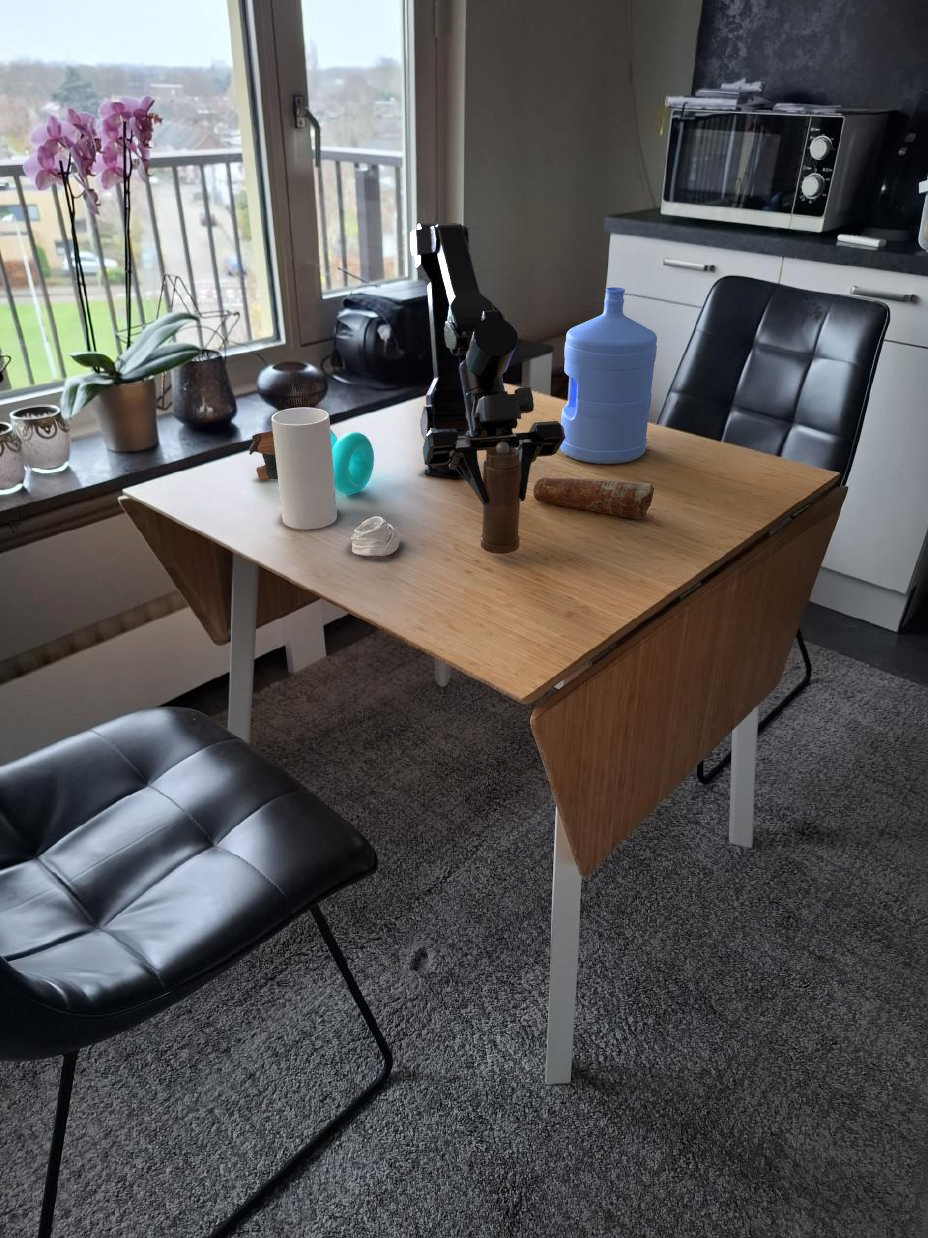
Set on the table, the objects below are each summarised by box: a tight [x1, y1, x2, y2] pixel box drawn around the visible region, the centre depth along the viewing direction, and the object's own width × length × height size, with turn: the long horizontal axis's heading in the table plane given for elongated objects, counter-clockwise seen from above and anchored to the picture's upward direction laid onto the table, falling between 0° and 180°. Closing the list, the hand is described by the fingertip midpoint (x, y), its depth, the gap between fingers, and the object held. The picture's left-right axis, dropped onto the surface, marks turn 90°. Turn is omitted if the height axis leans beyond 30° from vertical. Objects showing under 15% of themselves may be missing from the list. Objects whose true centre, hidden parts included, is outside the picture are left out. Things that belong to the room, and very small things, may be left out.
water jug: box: [559, 287, 658, 465], centre depth 153 cm, size 16×16×28 cm
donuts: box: [330, 428, 375, 496], centre depth 142 cm, size 10×10×10 cm
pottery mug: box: [248, 430, 278, 481], centre depth 150 cm, size 12×10×8 cm
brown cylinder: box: [532, 477, 655, 520], centre depth 137 cm, size 6×19×6 cm, turn 65°
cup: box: [271, 407, 338, 530], centre depth 130 cm, size 8×8×16 cm
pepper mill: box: [480, 442, 521, 555], centre depth 118 cm, size 5×5×15 cm
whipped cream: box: [350, 516, 400, 557], centre depth 124 cm, size 8×7×5 cm
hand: (503, 501), depth 117 cm, fingers closed on pepper mill, 5 cm apart
